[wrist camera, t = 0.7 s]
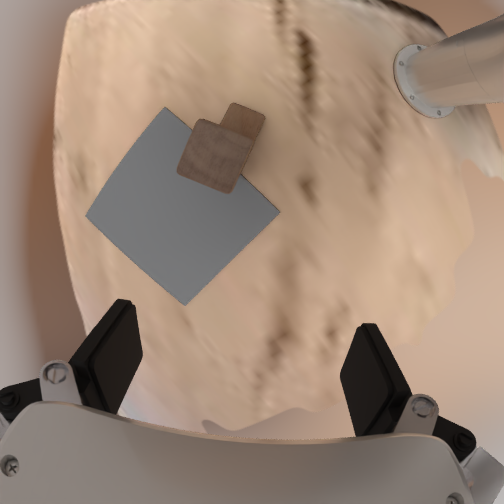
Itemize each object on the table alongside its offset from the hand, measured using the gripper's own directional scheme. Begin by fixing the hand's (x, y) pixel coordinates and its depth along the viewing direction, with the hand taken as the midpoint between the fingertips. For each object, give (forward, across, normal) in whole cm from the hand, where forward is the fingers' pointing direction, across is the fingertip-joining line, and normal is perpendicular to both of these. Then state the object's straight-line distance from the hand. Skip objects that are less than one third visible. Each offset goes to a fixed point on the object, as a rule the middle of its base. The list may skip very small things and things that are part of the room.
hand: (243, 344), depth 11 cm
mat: (+29, +12, +2) cm, 31 cm away
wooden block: (+29, +4, -8) cm, 31 cm away
